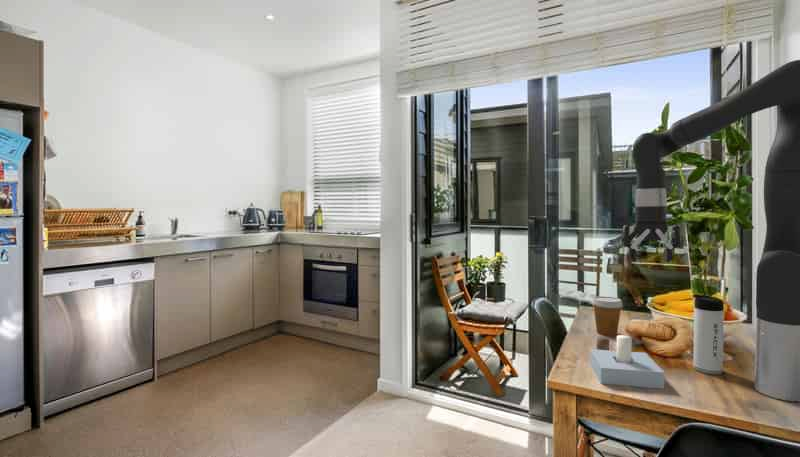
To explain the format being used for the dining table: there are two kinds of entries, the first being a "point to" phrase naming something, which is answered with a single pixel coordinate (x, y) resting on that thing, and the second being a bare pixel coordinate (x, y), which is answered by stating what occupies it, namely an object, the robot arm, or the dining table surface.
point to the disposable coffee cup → (607, 314)
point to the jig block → (626, 369)
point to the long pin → (623, 349)
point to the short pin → (602, 343)
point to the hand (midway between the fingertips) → (650, 262)
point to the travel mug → (708, 334)
